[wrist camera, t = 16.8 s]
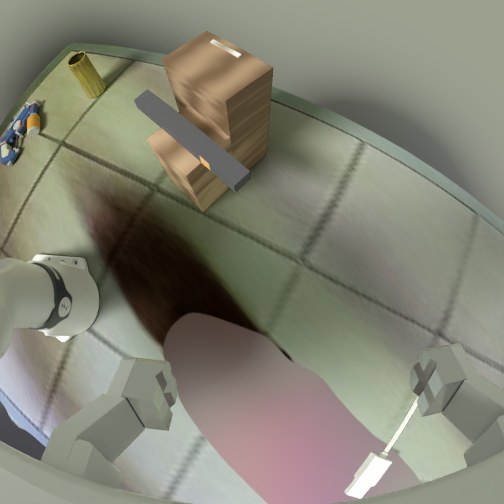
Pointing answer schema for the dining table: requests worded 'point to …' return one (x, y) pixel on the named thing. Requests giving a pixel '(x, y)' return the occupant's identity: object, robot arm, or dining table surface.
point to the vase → (86, 74)
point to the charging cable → (375, 465)
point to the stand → (215, 111)
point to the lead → (194, 141)
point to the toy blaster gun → (19, 132)
